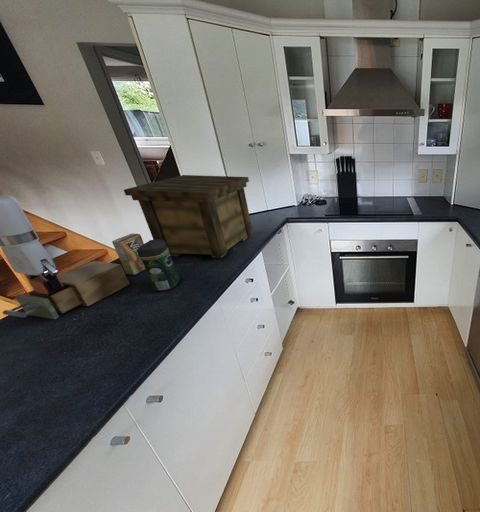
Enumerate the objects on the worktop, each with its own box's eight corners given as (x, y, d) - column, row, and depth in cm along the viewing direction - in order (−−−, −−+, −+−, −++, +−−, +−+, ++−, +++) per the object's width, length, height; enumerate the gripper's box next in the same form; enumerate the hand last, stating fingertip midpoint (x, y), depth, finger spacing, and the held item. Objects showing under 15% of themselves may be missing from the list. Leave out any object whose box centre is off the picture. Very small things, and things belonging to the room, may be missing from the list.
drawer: (35, 329, 83) (21, 310, 80) (6, 324, 85) (-9, 305, 81) (101, 295, 99) (92, 278, 96) (75, 292, 101) (66, 275, 98)
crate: (225, 262, 126) (206, 192, 111) (151, 260, 126) (123, 189, 112) (259, 234, 157) (248, 177, 142) (200, 232, 158) (183, 175, 143)
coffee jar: (160, 280, 111) (144, 238, 103) (183, 278, 113) (168, 236, 105) (149, 293, 103) (130, 249, 94) (173, 290, 105) (156, 247, 96)
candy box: (144, 264, 122) (131, 233, 116) (153, 265, 122) (140, 233, 115) (125, 274, 114) (110, 241, 108) (135, 275, 114) (120, 241, 107)
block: (46, 294, 87) (39, 282, 85) (35, 292, 88) (28, 280, 86) (63, 286, 91) (57, 275, 89) (53, 285, 92) (46, 273, 90)
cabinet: (87, 306, 95) (75, 284, 91) (58, 301, 97) (45, 279, 93) (129, 284, 108) (120, 264, 104) (103, 280, 110) (93, 260, 106)
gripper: (-23, 240, 79) (14, 292, 87) (22, 245, 77) (56, 298, 85) (13, 231, 86) (44, 280, 94) (55, 235, 83) (83, 286, 91)
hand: (49, 288), depth 89 cm, fingers closed on block, 4 cm apart
